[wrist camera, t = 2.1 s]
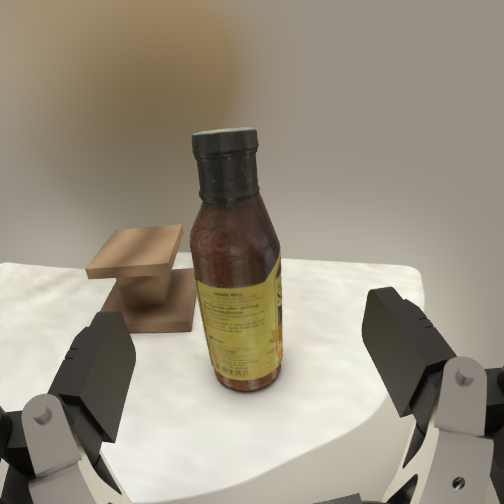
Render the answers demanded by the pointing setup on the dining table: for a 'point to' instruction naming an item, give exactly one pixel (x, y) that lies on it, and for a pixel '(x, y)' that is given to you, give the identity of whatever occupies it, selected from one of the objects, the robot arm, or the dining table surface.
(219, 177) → the sauce bottle
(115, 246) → the walnut pedestal
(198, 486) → the dining table surface
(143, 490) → the dining table surface
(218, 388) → the dining table surface
